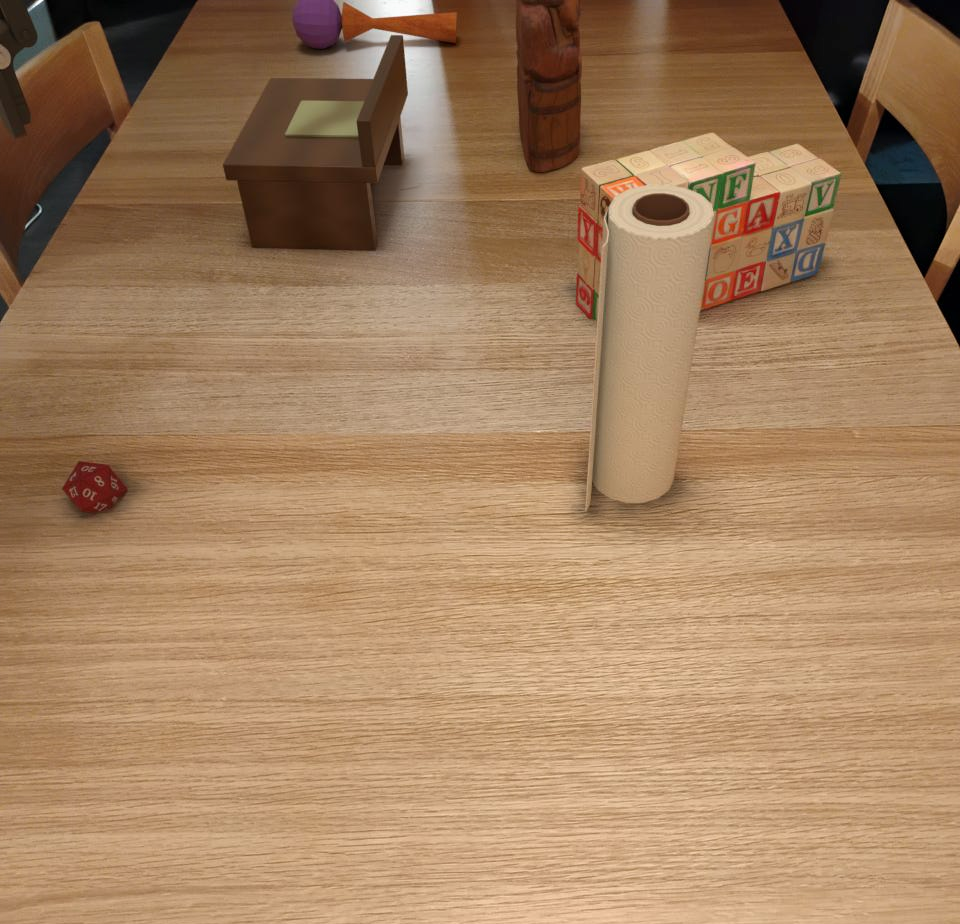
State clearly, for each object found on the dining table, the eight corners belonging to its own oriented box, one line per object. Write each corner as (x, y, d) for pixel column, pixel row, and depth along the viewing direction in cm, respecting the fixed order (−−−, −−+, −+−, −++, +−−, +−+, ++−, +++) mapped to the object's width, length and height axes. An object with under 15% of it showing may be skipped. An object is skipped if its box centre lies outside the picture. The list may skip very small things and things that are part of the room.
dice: (140, 491, 75) (123, 450, 72) (113, 533, 72) (95, 492, 69) (94, 485, 76) (76, 444, 72) (66, 526, 73) (46, 485, 70)
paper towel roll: (658, 453, 75) (696, 174, 59) (682, 508, 72) (730, 227, 55) (565, 467, 75) (576, 189, 58) (584, 523, 71) (602, 243, 54)
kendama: (456, 17, 119) (287, 8, 118) (455, 66, 124) (293, 58, 124) (457, -12, 122) (292, -21, 121) (456, 37, 127) (298, 29, 126)
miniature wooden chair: (241, 247, 96) (211, 118, 87) (285, 156, 107) (261, 34, 98) (385, 250, 95) (369, 120, 85) (413, 158, 106) (403, 34, 96)
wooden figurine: (584, 172, 103) (593, -28, 88) (522, 176, 103) (521, -24, 88) (571, 120, 110) (578, -73, 96) (513, 124, 110) (511, -69, 96)
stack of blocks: (778, 242, 93) (807, 105, 83) (819, 276, 89) (854, 136, 80) (573, 303, 88) (579, 165, 78) (607, 341, 84) (618, 200, 75)
